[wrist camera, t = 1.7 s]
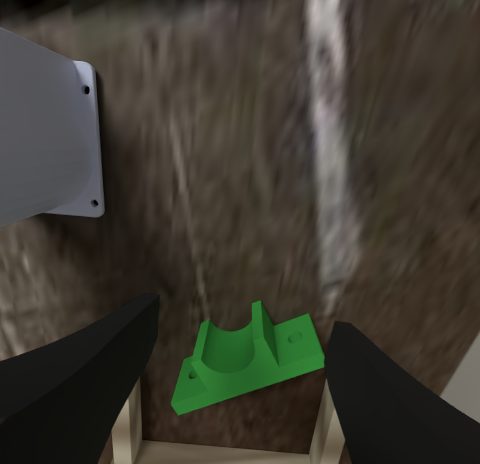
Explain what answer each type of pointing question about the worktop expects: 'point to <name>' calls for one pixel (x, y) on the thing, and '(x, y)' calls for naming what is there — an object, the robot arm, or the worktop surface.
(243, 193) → the worktop surface
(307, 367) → the pipe clamp
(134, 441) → the frame
